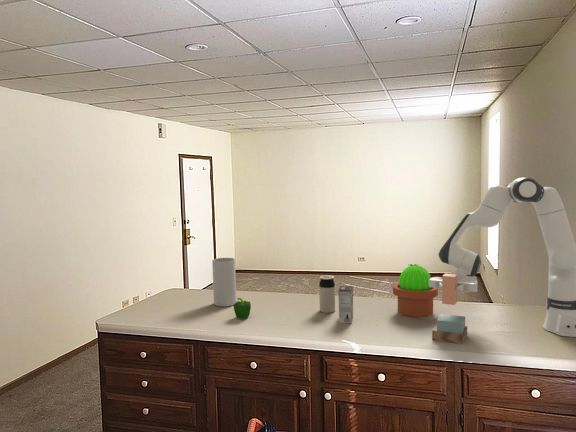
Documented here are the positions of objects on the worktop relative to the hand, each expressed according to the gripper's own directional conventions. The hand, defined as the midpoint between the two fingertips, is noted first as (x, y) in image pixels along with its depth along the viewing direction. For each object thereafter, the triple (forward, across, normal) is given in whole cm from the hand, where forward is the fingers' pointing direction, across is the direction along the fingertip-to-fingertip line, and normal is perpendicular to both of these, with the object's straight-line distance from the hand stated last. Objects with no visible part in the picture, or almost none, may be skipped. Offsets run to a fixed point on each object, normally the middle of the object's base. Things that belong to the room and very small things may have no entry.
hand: (449, 288), depth 199 cm
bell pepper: (+16, -97, +22) cm, 101 cm away
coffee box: (-3, -49, +22) cm, 54 cm away
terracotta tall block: (-1, 0, +6) cm, 7 cm away
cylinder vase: (0, -121, +23) cm, 123 cm away
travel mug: (-13, -64, +22) cm, 69 cm away
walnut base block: (-1, 0, +22) cm, 22 cm away
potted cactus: (-30, -23, +22) cm, 43 cm away
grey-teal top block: (0, +1, +18) cm, 18 cm away
